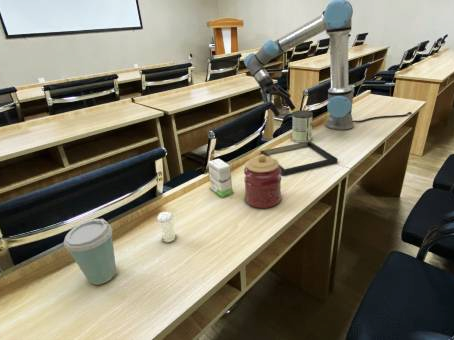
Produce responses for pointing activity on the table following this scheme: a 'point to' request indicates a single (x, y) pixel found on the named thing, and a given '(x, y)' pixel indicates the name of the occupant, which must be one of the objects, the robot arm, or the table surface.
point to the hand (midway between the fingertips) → (286, 112)
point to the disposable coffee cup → (93, 250)
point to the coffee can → (302, 126)
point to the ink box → (220, 177)
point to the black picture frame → (296, 169)
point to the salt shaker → (166, 226)
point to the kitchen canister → (262, 182)
